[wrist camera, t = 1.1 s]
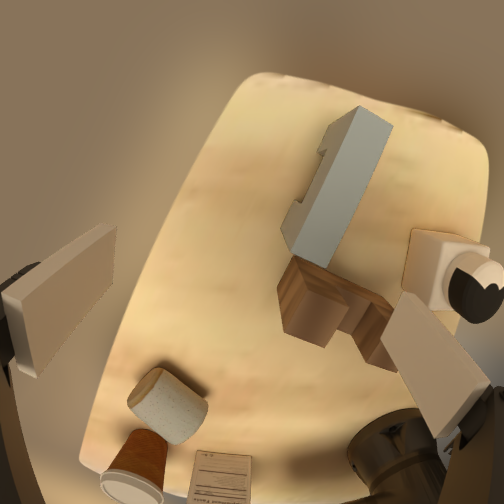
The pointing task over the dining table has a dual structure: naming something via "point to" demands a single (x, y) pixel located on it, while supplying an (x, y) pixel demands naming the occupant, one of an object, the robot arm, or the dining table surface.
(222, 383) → the dining table surface
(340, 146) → the slate plate
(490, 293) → the medicine bottle
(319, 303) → the walnut stand
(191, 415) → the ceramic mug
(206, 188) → the dining table surface
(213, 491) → the supplement box
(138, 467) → the disposable coffee cup
